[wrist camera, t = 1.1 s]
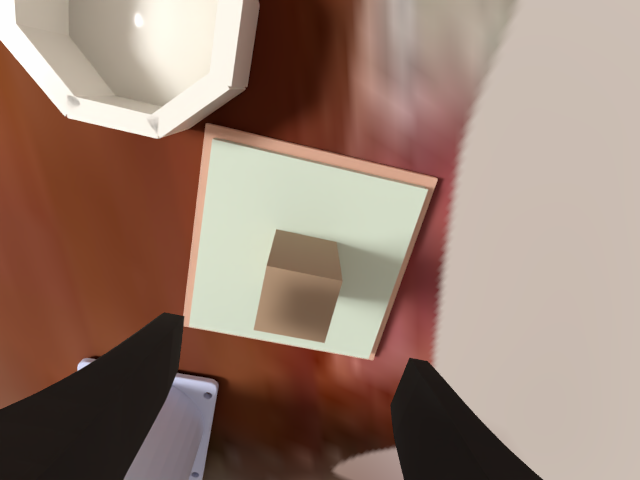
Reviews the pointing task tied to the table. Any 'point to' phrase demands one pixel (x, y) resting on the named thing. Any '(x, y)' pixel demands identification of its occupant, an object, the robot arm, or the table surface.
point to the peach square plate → (311, 154)
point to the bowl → (134, 57)
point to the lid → (299, 249)
